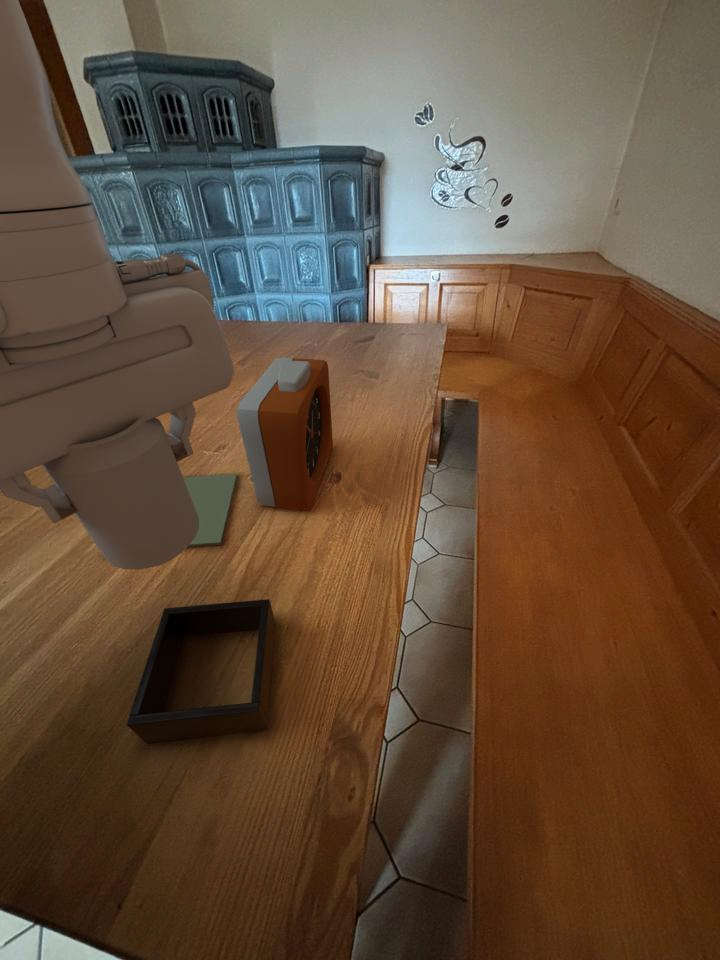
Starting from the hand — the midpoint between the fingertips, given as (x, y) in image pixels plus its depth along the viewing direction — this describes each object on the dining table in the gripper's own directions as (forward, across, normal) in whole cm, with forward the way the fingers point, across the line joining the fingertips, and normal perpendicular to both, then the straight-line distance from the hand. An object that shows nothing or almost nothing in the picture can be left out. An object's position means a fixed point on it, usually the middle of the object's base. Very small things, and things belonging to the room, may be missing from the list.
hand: (126, 482), depth 28 cm
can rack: (+25, +1, +4) cm, 25 cm away
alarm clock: (+25, -28, -15) cm, 41 cm away
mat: (+25, -10, -23) cm, 36 cm away
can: (+7, 0, 0) cm, 7 cm away
